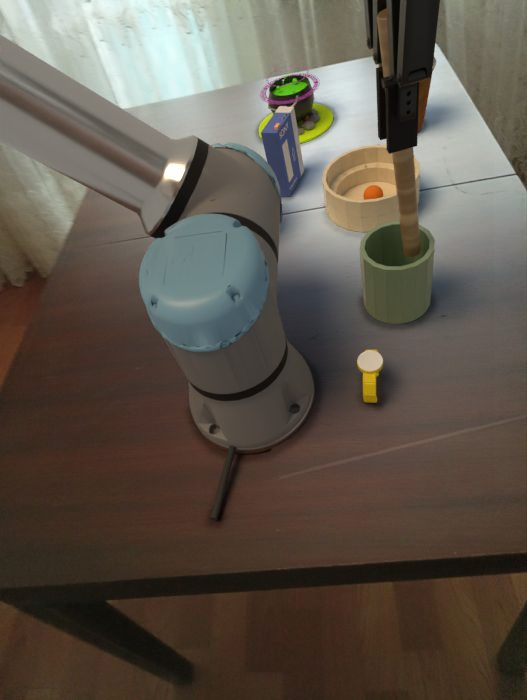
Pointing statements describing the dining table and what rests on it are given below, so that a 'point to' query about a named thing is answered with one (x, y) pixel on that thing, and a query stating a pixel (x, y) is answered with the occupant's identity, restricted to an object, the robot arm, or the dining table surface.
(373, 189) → the ball
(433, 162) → the dining table surface
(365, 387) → the watch
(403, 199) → the stick
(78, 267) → the dining table surface
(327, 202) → the mixing bowl
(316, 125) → the toy cauldron
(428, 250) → the crock
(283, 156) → the walkman
